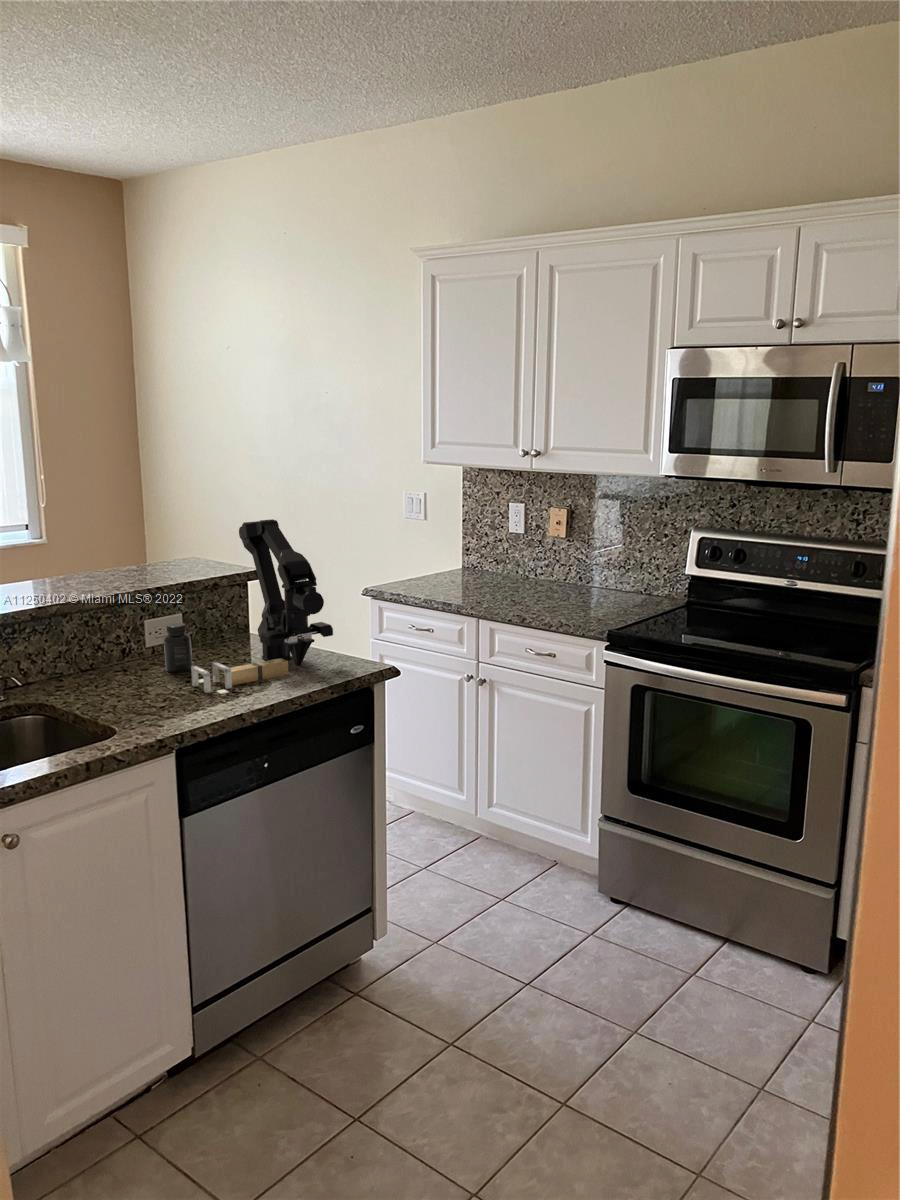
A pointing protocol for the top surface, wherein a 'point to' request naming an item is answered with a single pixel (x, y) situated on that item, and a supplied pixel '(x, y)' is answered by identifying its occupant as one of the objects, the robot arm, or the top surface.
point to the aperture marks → (218, 690)
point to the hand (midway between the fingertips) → (298, 665)
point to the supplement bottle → (177, 649)
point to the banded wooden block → (259, 671)
